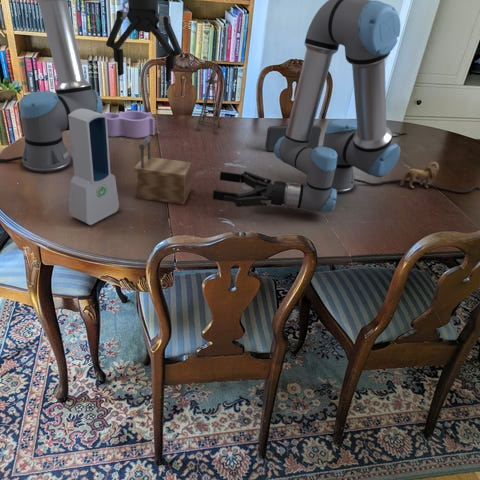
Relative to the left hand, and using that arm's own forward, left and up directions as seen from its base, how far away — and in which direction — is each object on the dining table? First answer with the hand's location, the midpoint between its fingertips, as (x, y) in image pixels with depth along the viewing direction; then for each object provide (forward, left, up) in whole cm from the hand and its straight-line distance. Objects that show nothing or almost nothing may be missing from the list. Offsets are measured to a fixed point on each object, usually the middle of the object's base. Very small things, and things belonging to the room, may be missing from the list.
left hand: (144, 77), depth 130 cm
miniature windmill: (+8, +65, -36) cm, 74 cm away
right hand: (+23, -1, -29) cm, 37 cm away
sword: (+88, +83, -36) cm, 126 cm away
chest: (+6, 0, -36) cm, 36 cm away
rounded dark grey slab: (+45, +53, -36) cm, 78 cm away
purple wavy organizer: (-22, +48, -36) cm, 64 cm away
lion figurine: (+92, +34, -36) cm, 104 cm away
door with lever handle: (+6, 0, -27) cm, 27 cm away
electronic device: (-10, -18, -36) cm, 41 cm away
